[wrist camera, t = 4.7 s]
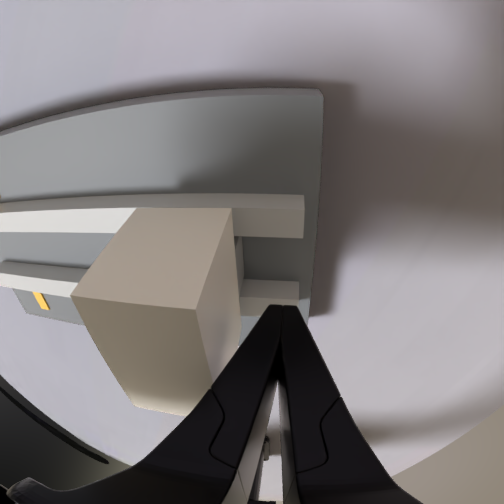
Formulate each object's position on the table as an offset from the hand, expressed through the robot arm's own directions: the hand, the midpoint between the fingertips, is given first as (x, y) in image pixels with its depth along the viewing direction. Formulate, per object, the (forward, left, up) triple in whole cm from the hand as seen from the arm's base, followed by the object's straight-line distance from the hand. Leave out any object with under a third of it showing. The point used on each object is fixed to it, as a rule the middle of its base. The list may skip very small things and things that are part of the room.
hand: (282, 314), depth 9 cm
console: (0, +8, -5) cm, 9 cm away
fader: (0, +3, -3) cm, 4 cm away
